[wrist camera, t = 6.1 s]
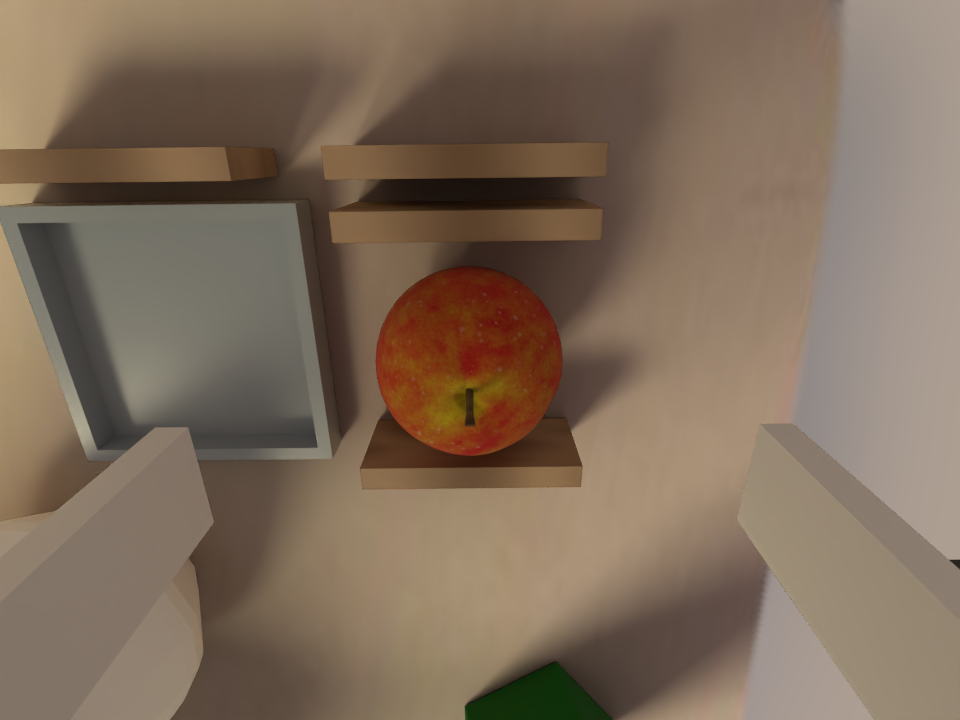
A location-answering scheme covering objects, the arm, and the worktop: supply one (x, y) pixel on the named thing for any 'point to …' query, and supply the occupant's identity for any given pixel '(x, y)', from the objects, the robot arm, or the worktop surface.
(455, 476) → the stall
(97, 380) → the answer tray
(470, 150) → the stall
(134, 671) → the cup
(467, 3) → the worktop surface
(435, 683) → the worktop surface
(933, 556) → the robot arm
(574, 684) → the milk carton
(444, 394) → the fruit
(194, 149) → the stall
